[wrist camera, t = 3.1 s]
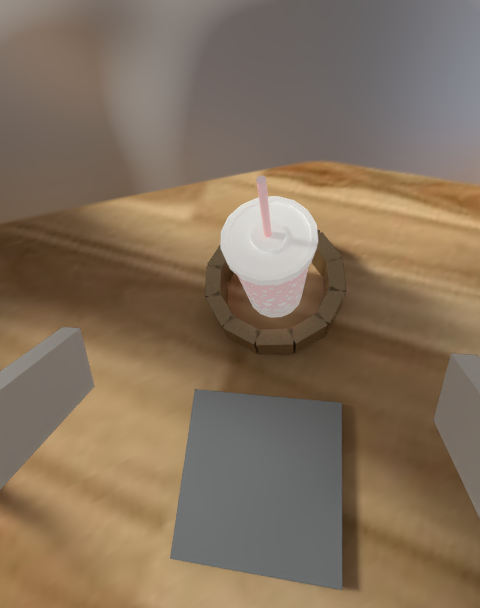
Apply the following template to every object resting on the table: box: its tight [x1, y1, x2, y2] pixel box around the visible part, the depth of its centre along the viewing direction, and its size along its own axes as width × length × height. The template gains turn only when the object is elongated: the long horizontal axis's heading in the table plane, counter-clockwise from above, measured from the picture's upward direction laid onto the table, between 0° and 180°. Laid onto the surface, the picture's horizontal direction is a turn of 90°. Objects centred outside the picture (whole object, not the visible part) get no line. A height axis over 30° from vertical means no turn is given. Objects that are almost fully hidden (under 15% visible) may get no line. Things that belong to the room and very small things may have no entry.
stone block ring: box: [205, 230, 346, 354], centre depth 28 cm, size 11×11×3 cm
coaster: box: [170, 389, 342, 590], centre depth 24 cm, size 11×11×1 cm
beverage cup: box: [220, 176, 318, 317], centre depth 23 cm, size 6×6×14 cm
